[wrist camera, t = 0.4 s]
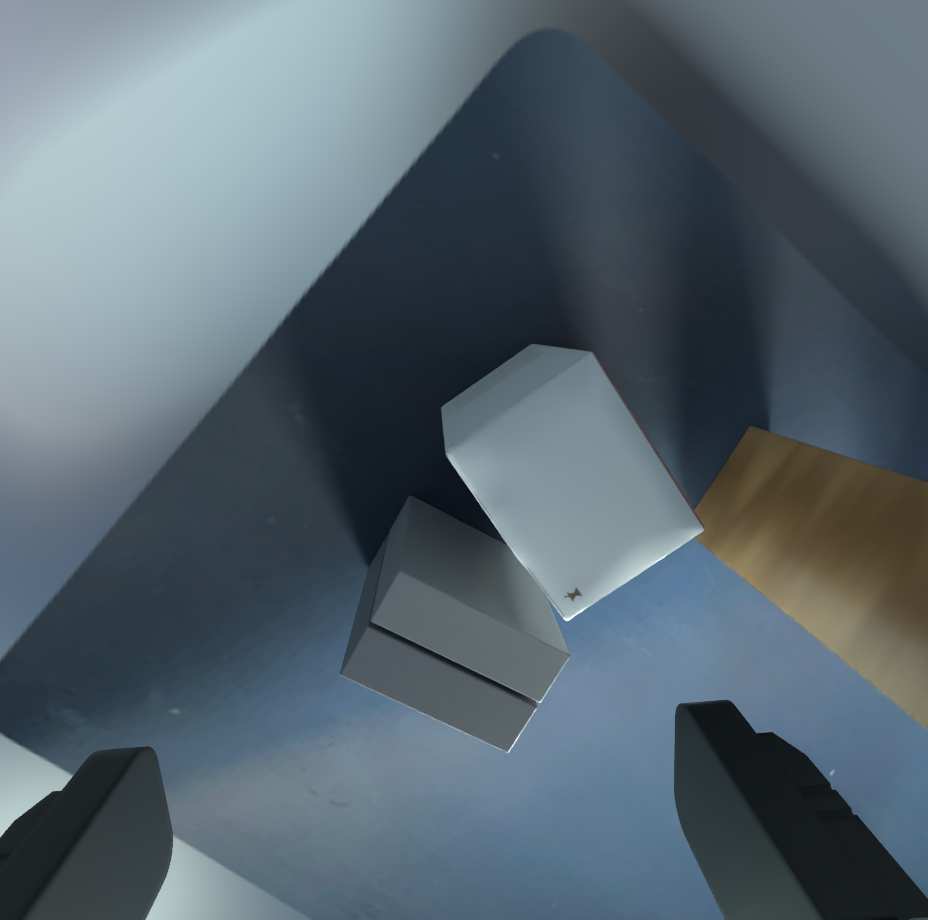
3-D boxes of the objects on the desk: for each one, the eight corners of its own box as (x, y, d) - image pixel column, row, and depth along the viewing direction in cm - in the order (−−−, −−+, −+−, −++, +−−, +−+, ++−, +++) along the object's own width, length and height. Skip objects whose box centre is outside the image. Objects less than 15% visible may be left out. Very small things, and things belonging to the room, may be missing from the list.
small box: (610, 457, 35) (712, 533, 22) (518, 520, 35) (565, 629, 23) (532, 338, 33) (593, 347, 21) (437, 405, 34) (438, 454, 21)
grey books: (409, 494, 35) (398, 569, 24) (530, 556, 36) (571, 655, 25) (367, 570, 36) (338, 675, 25) (486, 629, 37) (508, 753, 26)
